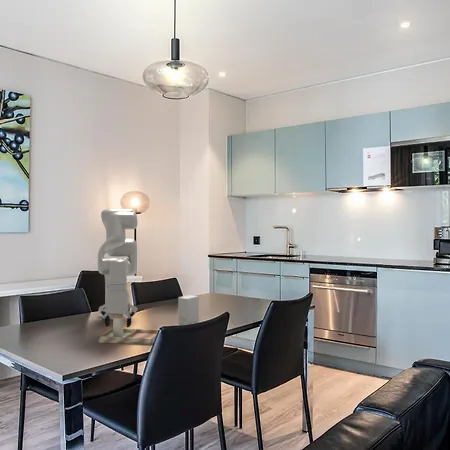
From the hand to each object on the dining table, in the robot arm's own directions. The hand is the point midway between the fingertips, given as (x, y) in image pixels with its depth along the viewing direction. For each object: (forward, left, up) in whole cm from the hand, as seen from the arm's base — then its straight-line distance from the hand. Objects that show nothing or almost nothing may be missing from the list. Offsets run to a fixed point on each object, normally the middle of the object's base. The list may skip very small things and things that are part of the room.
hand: (118, 326), depth 203 cm
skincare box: (+27, +22, -6) cm, 35 cm away
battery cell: (0, 0, -4) cm, 4 cm away
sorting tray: (+6, 0, -5) cm, 8 cm away
